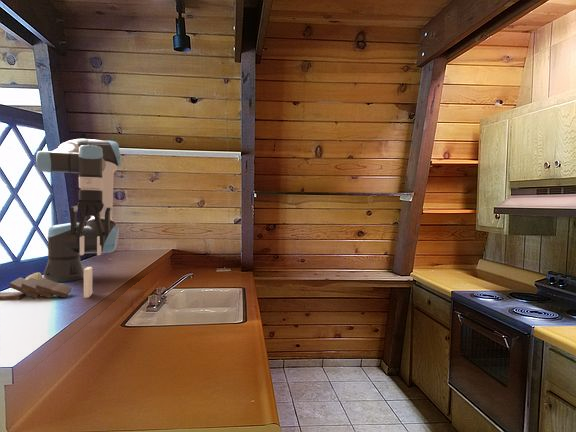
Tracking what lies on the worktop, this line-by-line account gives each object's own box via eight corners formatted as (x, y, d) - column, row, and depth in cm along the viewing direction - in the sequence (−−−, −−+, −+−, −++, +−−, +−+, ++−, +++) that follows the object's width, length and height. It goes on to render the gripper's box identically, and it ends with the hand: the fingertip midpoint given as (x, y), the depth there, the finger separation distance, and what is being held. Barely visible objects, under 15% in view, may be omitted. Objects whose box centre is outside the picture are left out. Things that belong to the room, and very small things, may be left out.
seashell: (43, 281, 148) (52, 273, 144) (37, 302, 143) (46, 295, 139) (20, 275, 143) (28, 267, 138) (13, 297, 138) (21, 289, 134)
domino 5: (83, 297, 136) (83, 269, 135) (87, 293, 140) (87, 266, 140) (88, 297, 136) (88, 269, 135) (92, 293, 141) (92, 266, 140)
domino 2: (36, 298, 133) (8, 286, 132) (45, 292, 138) (19, 280, 137) (37, 294, 132) (9, 282, 132) (47, 288, 137) (20, 277, 136)
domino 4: (65, 297, 135) (35, 288, 132) (71, 290, 139) (41, 281, 137) (66, 294, 134) (36, 284, 132) (72, 287, 139) (43, 278, 136)
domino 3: (49, 298, 133) (20, 287, 132) (57, 291, 138) (29, 281, 137) (51, 294, 133) (22, 283, 131) (58, 287, 138) (31, 277, 136)
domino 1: (19, 300, 131) (-15, 301, 129) (26, 296, 136) (-6, 297, 134) (19, 295, 131) (-15, 296, 129) (25, 291, 136) (-7, 292, 134)
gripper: (58, 188, 131) (59, 256, 132) (115, 190, 135) (115, 256, 136) (66, 188, 138) (66, 253, 140) (120, 190, 142) (119, 252, 143)
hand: (90, 254), depth 138 cm, fingers open, 5 cm apart
